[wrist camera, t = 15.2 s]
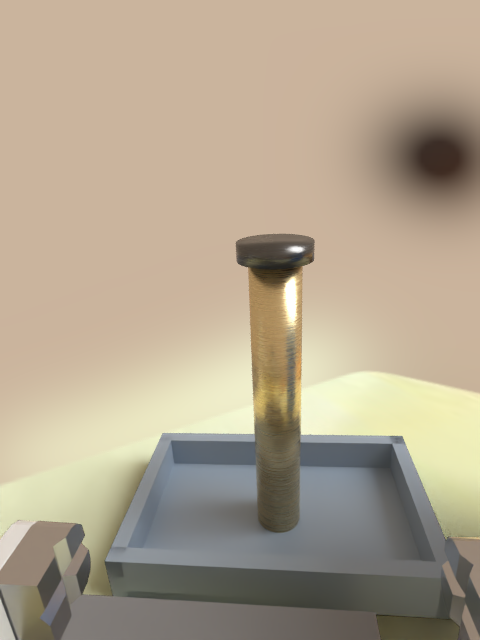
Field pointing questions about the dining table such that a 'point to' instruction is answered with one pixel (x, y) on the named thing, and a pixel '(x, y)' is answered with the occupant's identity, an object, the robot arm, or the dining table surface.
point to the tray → (289, 547)
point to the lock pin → (276, 369)
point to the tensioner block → (210, 621)
